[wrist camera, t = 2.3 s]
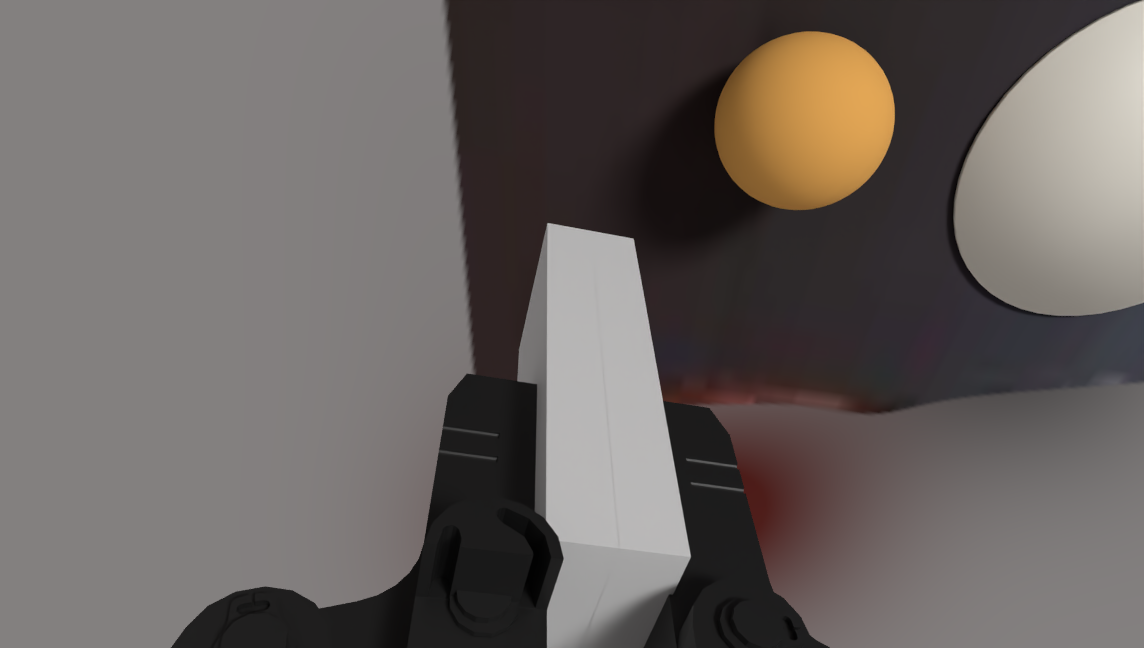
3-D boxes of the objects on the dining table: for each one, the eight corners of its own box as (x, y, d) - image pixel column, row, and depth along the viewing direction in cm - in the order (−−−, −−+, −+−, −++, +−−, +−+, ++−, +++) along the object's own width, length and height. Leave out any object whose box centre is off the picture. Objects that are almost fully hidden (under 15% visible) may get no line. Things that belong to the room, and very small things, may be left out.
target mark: (1422, 33, 26) (1427, 34, 26) (1170, 335, 33) (1173, 338, 33) (1081, -57, 24) (1084, -56, 24) (894, 284, 32) (896, 287, 31)
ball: (889, 31, 26) (959, 85, 21) (823, 180, 29) (872, 255, 24) (732, -6, 25) (771, 43, 20) (682, 151, 28) (706, 223, 24)
